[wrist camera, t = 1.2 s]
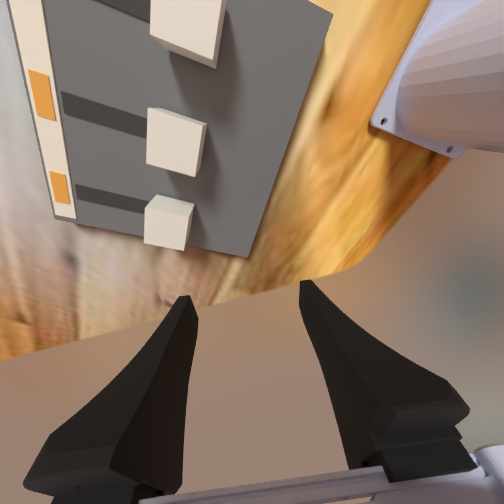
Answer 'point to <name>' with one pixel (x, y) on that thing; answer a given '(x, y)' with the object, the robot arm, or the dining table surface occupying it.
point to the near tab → (189, 27)
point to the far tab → (168, 222)
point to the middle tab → (174, 141)
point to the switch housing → (167, 97)
